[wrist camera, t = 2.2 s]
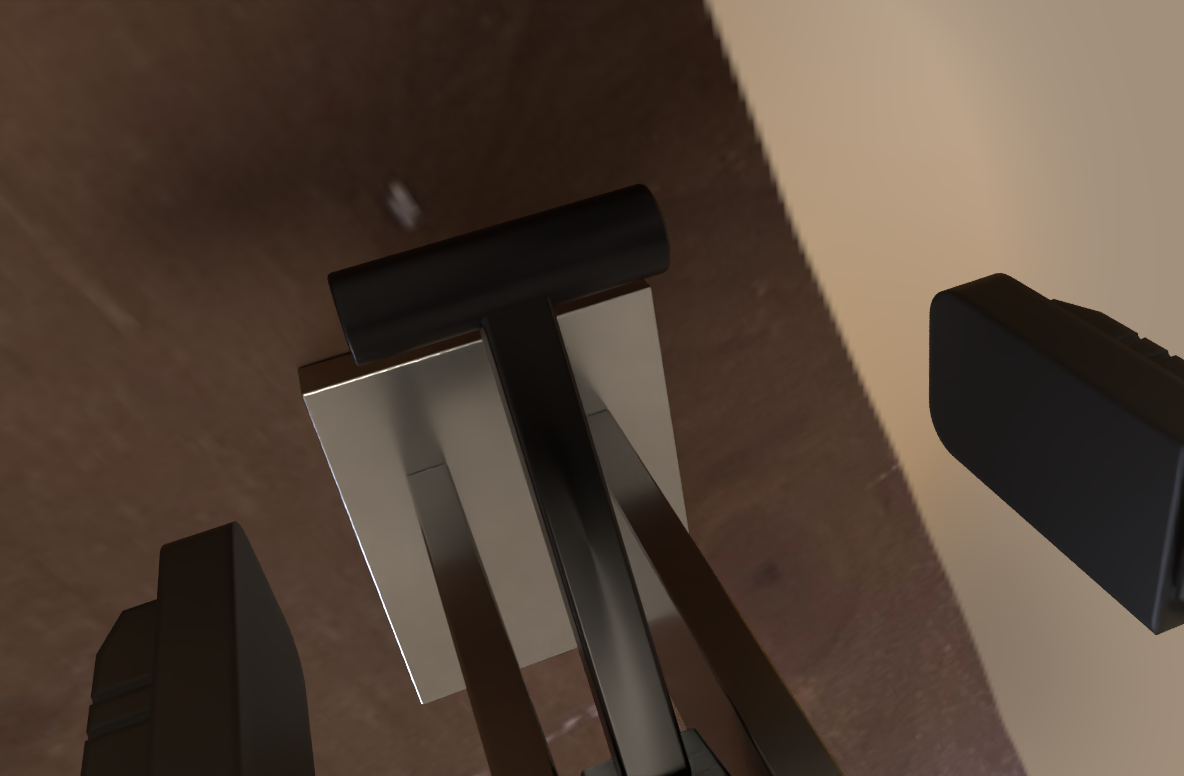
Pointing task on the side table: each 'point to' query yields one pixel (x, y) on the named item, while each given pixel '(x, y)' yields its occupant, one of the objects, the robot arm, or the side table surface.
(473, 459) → the bracket
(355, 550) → the side table surface
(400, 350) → the lever
